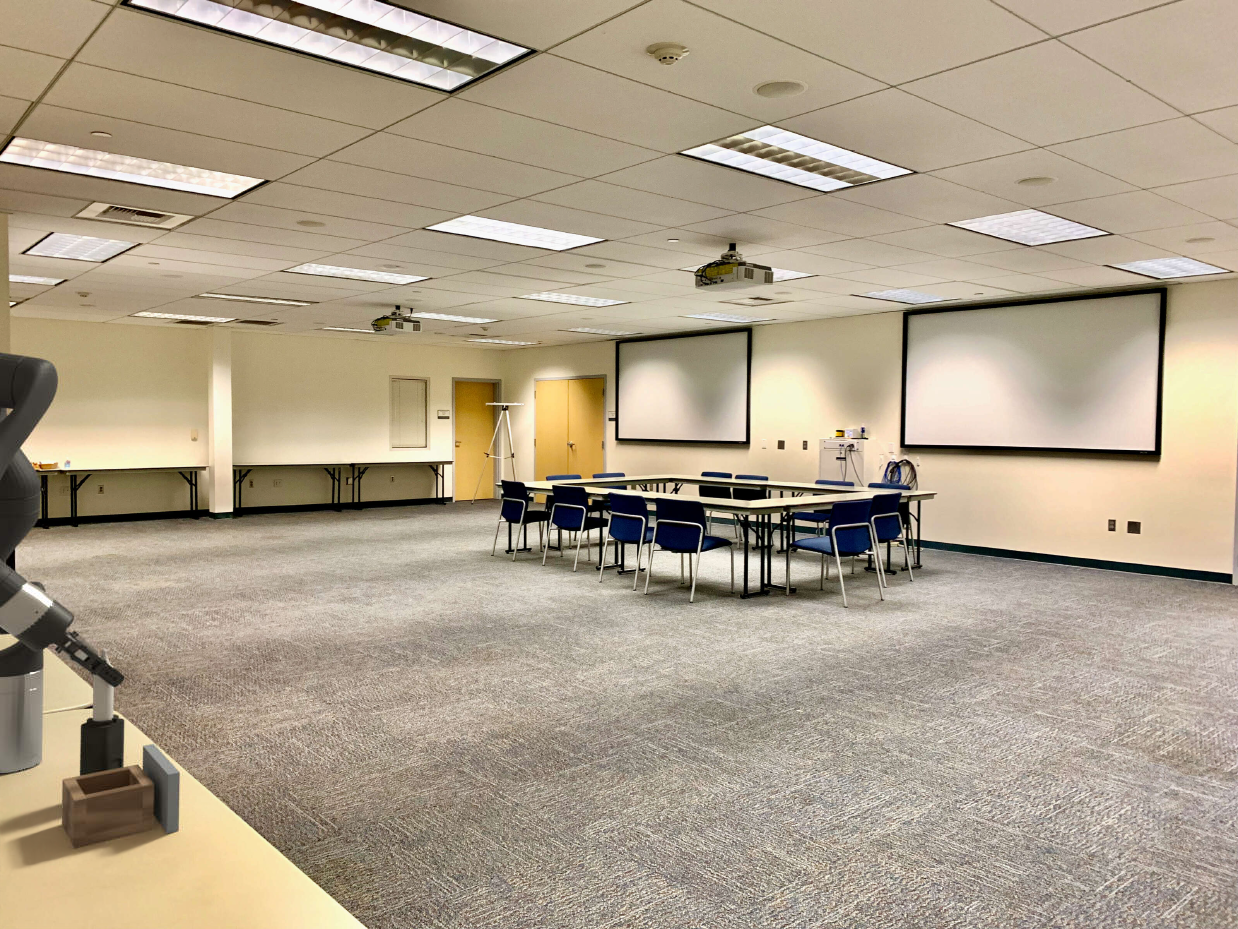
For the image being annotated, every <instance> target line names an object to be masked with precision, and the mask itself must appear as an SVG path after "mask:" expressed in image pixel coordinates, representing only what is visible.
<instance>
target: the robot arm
mask: <svg viewBox="0 0 1238 929" xmlns="http://www.w3.org/2000/svg"><path fill="white" fill-rule="evenodd" d="M58 384H59V377H58V372H57V369H56V366H55V365H54V364H53V363H52V362H51V361H49V360H47V359H44V358H39V357H35V356H34V357H33V356H27V355H21V354H14V353H8V352H0V636H3V635H12V636H13V637H14V638H15V639H17V640H18V641H16V642H15V643H13V644H11V645H10V646H8V647H6V648H3V649H1V650H0V774H7V773H15V772H19V770H20V771H23V769H24V770H26V768H27V769H30V768H32V767H33V768H34V767H35V766H37V765H38V763H39V764H40V763H41V762H42V761H43V730H44V729H43V728H44V727H43V726H44V724H43V723H44V720H43V718H44V663H45V662H44V659H45V658H44V650H45V649H46V648H48V647H49V646H50V645H55V646H56V647H55V648H54V651H55V652H56V653H57V654H58V655H60V656H61V657H62V658H64V659H67V660H69V661H71V662H72V663H73V664H74V665H76V666H77V667H78V668H80V669H85V670H86V671H88V672H89V673H90V674H91V675H92V676H93V675H95V676H97V675H98V676H99V677H100V678H102V679H103V680H104V681H106V682H107V683H108V684H110V685H111V686H113V687H114V688H117V687H119V686H120V685H121V684H122V682H124V680H125V678H126V677H125V676H124V675H123V674H122V673H121V672H120V671H119V670H118V669H117V668H115V667H114V666H113V665H112V666H113V667H112V666H110V665H109V664H108V663H107V662H108V661H106V660H103V659H102V658H101V655H102V654H99V651H98V650H97V649H96V648H95V647H94V646H93V645H92V644H91V643H89V642H88V641H86V639H85V638H84V636H83V635H82V634H80V632H77V631H76V630H73V631H72V632H71V631H67V629H68V628H70V627H71V626H72V623H73V622H74V619H75V615H74V613H73V612H71V611H70V610H69V609H68V608H67V607H65V606H64V605H63V604H61V603H60V602H59V601H57V599H55V598H53V597H52V596H51V595H50V594H49V593H47V592H46V587H45V586H44V585H43V584H42V583H41V582H40V581H29V580H27V579H26V578H25V577H24V576H22V575H21V574H20V573H18V572H17V571H16V570H14V569H13V568H11V567H10V565H8V564H5V563H6V561H7V559H8V558H10V556H11V554H12V553H13V551H14V550H16V548H17V547H18V546H19V544H21V543H22V541H23V540H24V539H25V538H26V537H27V535H28V534H29V533H30V532H31V530H33V528H34V526H35V525H36V523H37V521H38V520H39V517H40V510H41V486H42V485H41V480H40V478H39V475H38V472H37V471H36V469H35V467H34V466H33V465H32V462H31V461H30V460H29V458H28V457H27V455H26V454H25V453H24V451H23V450H22V449H21V448H22V446H23V445H24V443H25V442H26V441H27V440H28V438H29V437H30V436H31V434H32V433H33V432H34V430H35V428H36V427H37V425H38V424H39V423H40V421H41V420H42V419H43V417H44V415H45V414H46V413H47V411H48V409H49V408H50V407H51V404H52V403H53V401H54V399H55V396H56V393H57V389H58ZM7 409H10V410H11V411H10V413H8V412H7V411H8V410H7ZM40 761H41V762H40ZM36 764H37V765H36Z"/></svg>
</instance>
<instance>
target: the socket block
mask: <svg viewBox="0 0 1238 929" xmlns="http://www.w3.org/2000/svg"><path fill="white" fill-rule="evenodd" d="M61 784H62V790H61V797H62V798H61V799H62V800H61V825H62V827H63V830H64V832H65V834H66V836H67V838H68V840H69V842H70V844H71V846H72V848H73V849H78V848H83V847H87V846H90V845H91V846H92V845H95V844H98V843H99V844H100V843H104V842H106V841H111V840H115V839H120V838H123V837H127V836H128V837H129V836H131V835H135V834H139V833H140V834H141V833H145V832H147V831H153V830H154V815H153V810H154V784H153V782H152V781H151V780H150V779H149V777H148V776H147V775H146V774H145V772H144V771H143V768H142V767H141V766H140V765H139V764H134V765H128V766H127V765H126V766H124V767H122V768H117V769H112V770H107V771H102V772H97V773H92V774H87V775H82V776H80V775H77V776H73V777H67V778H62V783H61Z"/></svg>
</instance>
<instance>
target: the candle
mask: <svg viewBox="0 0 1238 929" xmlns="http://www.w3.org/2000/svg"><path fill="white" fill-rule="evenodd" d="M100 651H101V654H100V655H101V658H102V659H103V660H106V661H108V662H107V663H108V664H109V665H110V666H112V667H114V666H113V665H112V664H111V663H110V660H109V657H108V654H107V653H108V650H107V649H106V648H102V649H101V650H100ZM92 677H93V679H92V681H93V682H92V684H93V685H92V686H93V687H92V717H88V718H87V719H86V722H84V723H82V724H81V725H80V738H79V739H80V742H79V743H80V744H79V746H80V747H79V748H80V752H79V757H80V758H79V776H82V775H87V774H92V773H97V772H102V771H107V770H112V769H117V768H122V767H125V766H124V765H125V764H124V763H125V761H124V760H125V759H124V757H125V756H124V755H125V753H124V752H125V719H124V718H120V716H119V715H118V714H114V693H115V692H114V691H115V690H114V689H115V687H113V686H111V685H110V684H108V683H107V682H106V681H104V680H103V679H102V678H100V677H99V676H98V675H97V676H95V675H92Z"/></svg>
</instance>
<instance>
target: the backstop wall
mask: <svg viewBox="0 0 1238 929" xmlns="http://www.w3.org/2000/svg"><path fill="white" fill-rule="evenodd" d="M142 770H143V771H144V772H145V774H146V775H147V776H148V777H149V779H150V780H151V781H152V782H153V784H154V810H153V817H154V818H155V819H156V821H157V822H158V823H159V824H160V826H161V827H162V829H163V830H164V831H165V833H167V834H170V833H174V832H178V831H180V830H179V829H180V827H179V825H180V788H181V787H180V783H181V782H180V780H181V779H180V778H181V777H180V775H181V773H180V771H179V770H178V769H177V768H176V767H175V765H174V764H173V763H172V762H171V761H170V760H169V759H168V758H167V757H166V755H164V754H163V752H162V751H161V750H160V749H159V748H158V747H157V745H156V744H155V743H152V744H146V745H142Z"/></svg>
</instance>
